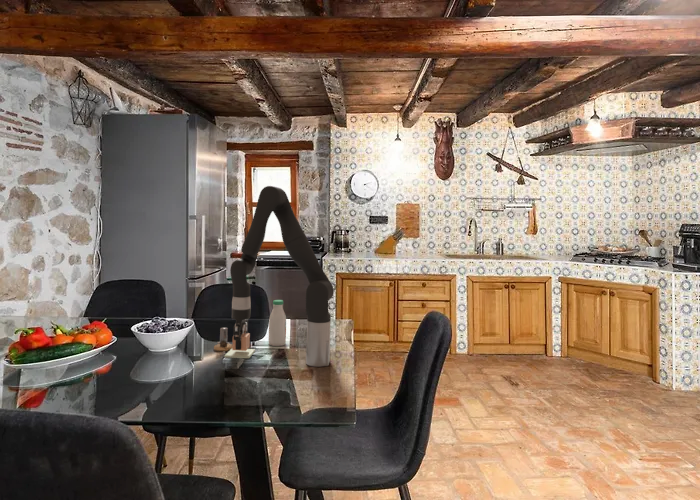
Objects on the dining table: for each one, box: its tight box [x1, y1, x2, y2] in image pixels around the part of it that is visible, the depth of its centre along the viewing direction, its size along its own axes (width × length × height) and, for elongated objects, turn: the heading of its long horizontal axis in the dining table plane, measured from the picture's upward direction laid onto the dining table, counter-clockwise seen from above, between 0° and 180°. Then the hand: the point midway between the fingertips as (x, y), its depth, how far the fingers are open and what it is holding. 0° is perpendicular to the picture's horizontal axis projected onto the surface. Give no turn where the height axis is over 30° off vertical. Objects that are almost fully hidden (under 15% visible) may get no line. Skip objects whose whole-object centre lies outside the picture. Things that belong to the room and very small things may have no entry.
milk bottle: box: [268, 299, 287, 347], centre depth 197 cm, size 8×8×20 cm
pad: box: [224, 348, 256, 359], centre depth 181 cm, size 10×10×1 cm
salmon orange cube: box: [232, 332, 251, 351], centre depth 180 cm, size 6×6×6 cm
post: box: [213, 327, 233, 353], centre depth 187 cm, size 8×8×9 cm
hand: (240, 347), depth 180 cm, fingers closed on salmon orange cube, 5 cm apart
